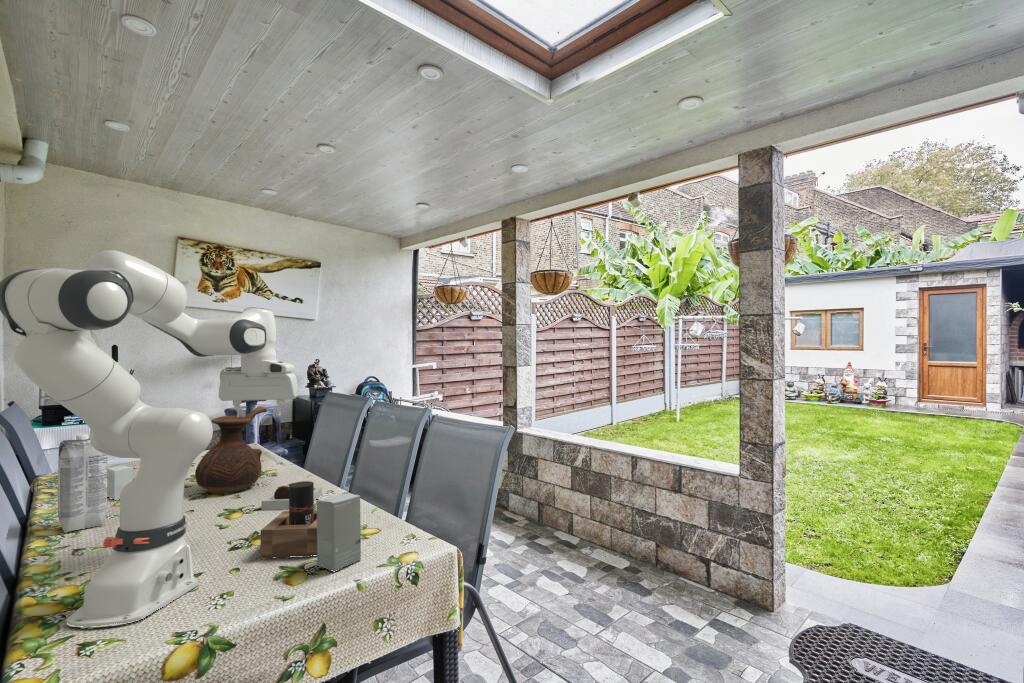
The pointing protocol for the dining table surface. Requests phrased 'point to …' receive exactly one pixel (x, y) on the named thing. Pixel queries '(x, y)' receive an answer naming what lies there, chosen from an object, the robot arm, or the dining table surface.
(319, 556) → the skincare box
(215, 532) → the dining table surface
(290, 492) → the deodorant
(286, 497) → the compass
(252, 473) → the jug
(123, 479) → the small box
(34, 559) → the dining table surface
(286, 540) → the holder
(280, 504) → the watch tray
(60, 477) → the juice carton
